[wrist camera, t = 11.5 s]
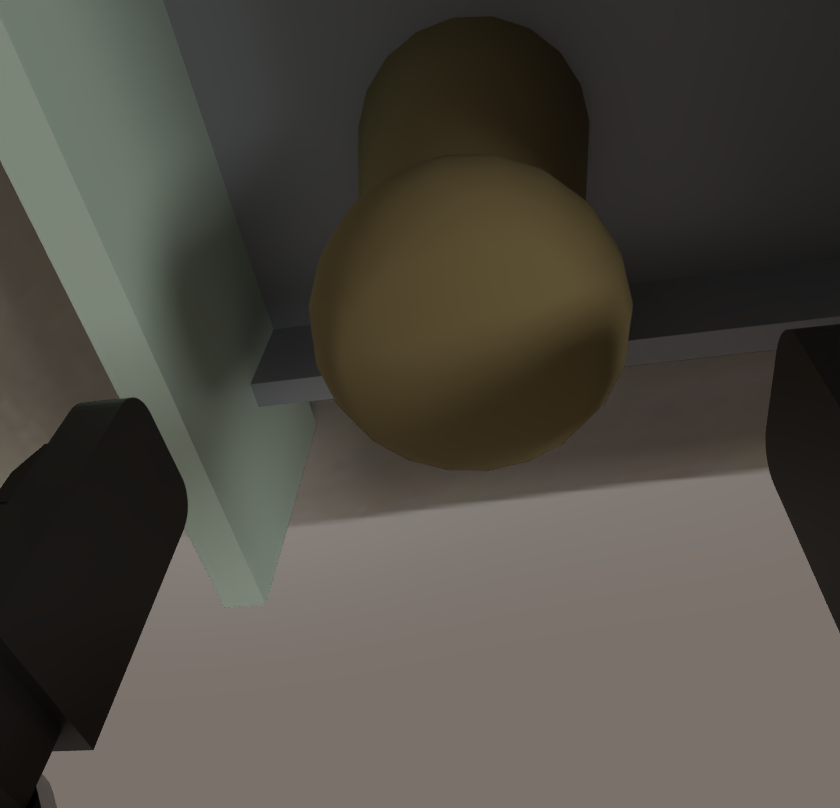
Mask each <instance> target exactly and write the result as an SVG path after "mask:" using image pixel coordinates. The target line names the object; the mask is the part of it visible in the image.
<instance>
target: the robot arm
mask: <svg viewBox="0 0 840 808" xmlns="http://www.w3.org/2000/svg"><path fill="white" fill-rule="evenodd" d="M766 454H767V461H768V466H769V471H770V474H771V478H772V480H773V483H774V485H775V487H776V490H777V492H778V494H779V497H780V499H781V501H782V503H783V505H784V508H785V510H786V512H787V514H788V517H789V519H790V521H791V524H792V526H793V528H794V531H795V533H796V535H797V537H798V540H799V542H800V544H801V546H802V548H803V551H804V553H805V555H806V558H807V560H808V562H809V564H810V566H811V569H812V571H813V573H814V576H815V578H816V580H817V582H818V585H819V587H820V589H821V591H822V594H823V596H824V598H825V601H826V603H827V605H828V607H829V610H830V612H831V614H832V616H833V618H834V620H835V623H836V625H837V627H838V630H839V632H840V324H834V325H825V326H815V327H806V328H796V329H787V330H785V331H783V333H782V334H781V336H780V338H779V341H778V346H777V352H776V360H775V367H774V374H773V382H772V389H771V396H770V404H769V411H768V419H767V426H766ZM187 514H188V498H187V491H186V487H185V483H184V481H183V478H182V476H181V474H180V472H179V470H178V468H177V466H176V464H175V462H174V460H173V458H172V456H171V454H170V452H169V450H168V448H167V446H166V444H165V442H164V440H163V437H162V435H161V433H160V431H159V429H158V427H157V425H156V423H155V421H154V419H153V417H152V415H151V413H150V411H149V409H148V408H147V406H146V405H145V404H144V403H143V402H142V401H141V400H140V399H138V398H135V397H132V398H122V399H113V400H103V401H94V402H85V403H79V404H77V405H76V406H74V407H73V408H72V409H71V411H70V412H69V413H68V415H67V416H66V418H65V419H64V421H63V422H62V424H61V425H60V427H59V428H58V430H57V431H56V433H55V434H54V436H53V437H52V438H51V440H50V441H49V443H48V444H44V445H43V446H42V447H41V448H40V449H39V450H37V451H36V452H35V453H34V454H33V455H31V456H30V457H29V458H28V459H27V460H26V461H24V462H23V463H22V464H21V465H20V466H19V467H17V468H16V469H15V470H14V471H13V472H12V473H11V474H10V475H9V477H8V478H7V480H6V481H5V483H4V484H3V485H2V487H1V488H0V808H57V806H56V803H55V798H54V794H53V791H52V788H51V785H50V783H49V782H48V780H47V779H46V778H45V776H44V775H43V774H42V772H43V770H44V768H45V765H46V763H47V761H48V759H49V757H50V755H51V752H52V751H72V750H73V751H76V750H94V747H95V745H96V742H97V740H98V737H99V735H100V732H101V730H102V728H103V725H104V722H105V720H106V718H107V715H108V713H109V710H110V708H111V706H112V703H113V701H114V698H115V696H116V694H117V691H118V688H119V686H120V684H121V681H122V679H123V676H124V674H125V672H126V669H127V666H128V664H129V662H130V659H131V657H132V654H133V652H134V650H135V647H136V645H137V642H138V640H139V637H140V635H141V632H142V630H143V628H144V625H145V622H146V620H147V618H148V615H149V613H150V610H151V608H152V605H153V603H154V600H155V598H156V596H157V593H158V591H159V588H160V586H161V583H162V581H163V579H164V576H165V574H166V571H167V569H168V566H169V564H170V561H171V559H172V556H173V554H174V552H175V549H176V547H177V544H178V542H179V540H180V537H181V535H182V532H183V530H184V527H185V524H186V520H187Z"/></svg>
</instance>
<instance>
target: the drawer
mask: <svg viewBox="0 0 840 808" xmlns="http://www.w3.org/2000/svg"><path fill="white" fill-rule="evenodd" d="M485 16H493V17H496V18H499V19H502V20H505V21H509V22H512V23H515V24H518V25H521V26H524V27H527V28H530V29H531V30H532V31H534V32H535V33H536V34H538V35H539V36H540V37H541V38H543V39H544V40H545V41H547V42H548V43H549V44H550V45H552V46H553V47H554V48H555V49H557V50H558V51H559V52H561V54H562V56H563V57H564V59H565V60H566V62H567V64H568V65H569V67H570V68H571V70H572V71H573V73H574V75H575V76H576V78H577V79H578V81H579V83H580V84H581V87H582V91H583V96H584V100H585V104H586V108H587V113H588V117H589V121H590V124H589V145H588V167H587V188H586V201H587V202H589V203H590V205H591V206H592V208H593V209H594V211H595V212H596V214H597V215H598V217H599V218H600V220H601V221H602V223H603V224H604V225H605V227H606V228H607V230H608V231H609V233H610V234H611V236H612V237H613V239H614V240H615V242H616V243H617V246H618V249H619V251H620V254H621V256H622V259H623V263H624V267H625V272H626V276H627V280H628V284H629V289H630V293H631V297H632V302H633V309H632V316H631V323H630V331H629V338H628V345H627V351H626V358H625V364H624V367H626V366H635V365H644V364H653V363H662V362H671V361H680V360H690V359H699V358H708V357H717V356H726V355H735V354H744V353H753V352H762V351H771V350H777V346H778V341H779V338H780V336H781V334H782V333H783V331H785V330H787V329H796V328H806V327H815V326H825V325H834V324H840V0H0V161H1V163H2V165H3V167H4V169H5V171H6V173H7V175H8V177H9V179H10V181H11V183H12V185H13V187H14V189H15V191H16V193H17V195H18V197H19V199H20V201H21V203H22V205H23V207H24V209H25V211H26V213H27V215H28V217H29V219H30V221H31V223H32V225H33V227H34V229H35V231H36V233H37V235H38V237H39V239H40V241H41V243H42V245H43V247H44V249H45V251H46V253H47V255H48V257H49V259H50V261H51V263H52V265H53V267H54V269H55V271H56V273H57V275H58V277H59V279H60V281H61V283H62V285H63V287H64V289H65V291H66V293H67V295H68V297H69V299H70V301H71V303H72V305H73V307H74V309H75V311H76V313H77V315H78V317H79V319H80V321H81V323H82V325H83V327H84V329H85V331H86V333H87V335H88V337H89V339H90V341H91V343H92V345H93V347H94V349H95V351H96V353H97V355H98V357H99V359H100V361H101V363H102V365H103V367H104V369H105V371H106V373H107V375H108V377H109V379H110V381H111V383H112V385H113V387H114V389H115V391H116V393H117V395H118V397H119V399H122V398H132V397H135V398H138V399H140V400H141V401H142V402H143V403H144V404H145V405H146V406H147V408H148V409H149V411H150V413H151V415H152V417H153V419H154V421H155V423H156V425H157V427H158V429H159V431H160V433H161V435H162V437H163V440H164V442H165V444H166V446H167V448H168V450H169V452H170V454H171V456H172V458H173V460H174V462H175V464H176V466H177V468H178V470H179V472H180V474H181V476H182V478H183V481H184V483H185V487H186V491H187V498H188V514H187V520H186V524H185V527H184V528H185V530H186V532H187V534H188V536H189V538H190V540H191V542H192V544H193V546H194V548H195V550H196V552H197V554H198V556H199V558H200V560H201V562H202V564H203V566H204V568H205V570H206V572H207V574H208V576H209V578H210V580H211V582H212V584H213V586H214V588H215V590H216V592H217V594H218V596H219V598H220V600H221V602H222V604H223V606H224V608H229V607H244V606H257V605H258V606H259V605H266V602H267V599H268V595H269V592H270V588H271V585H272V581H273V577H274V574H275V571H276V567H277V564H278V560H279V556H280V552H281V549H282V546H283V542H284V538H285V535H286V532H287V528H288V525H289V521H290V517H291V514H292V510H293V507H294V503H295V500H296V496H297V493H298V489H299V486H300V482H301V478H302V475H303V471H304V468H305V464H306V461H307V457H308V454H309V450H310V447H311V443H312V439H313V436H314V432H315V429H316V422H315V419H314V416H313V413H312V410H311V407H310V404H309V401H318V400H327V399H334V398H333V396H332V394H331V392H330V391H329V389H328V387H327V385H326V383H325V381H324V379H323V377H322V375H321V374H320V372H319V370H318V368H317V366H316V359H315V352H314V345H313V338H312V331H311V324H310V315H309V302H310V297H311V292H312V288H313V283H314V279H315V274H316V269H317V265H318V261H319V259H320V257H321V254H322V252H323V250H324V247H325V245H326V244H327V242H328V241H329V239H330V238H331V236H332V234H333V233H334V231H335V230H336V228H337V227H338V225H339V224H340V222H341V220H342V219H343V217H344V216H345V214H346V213H347V211H348V210H349V208H350V207H351V206H352V205H353V204H354V203H356V202H357V201H358V127H359V122H360V118H361V113H362V109H363V104H364V100H365V96H366V91H367V89H368V88H369V86H370V84H371V83H372V81H373V79H374V77H375V76H376V74H377V72H378V71H379V69H380V67H381V66H382V64H383V62H384V61H385V59H386V58H387V57H388V56H389V55H390V54H391V53H392V52H394V51H395V50H396V49H397V48H398V47H399V46H401V45H402V44H403V43H404V42H405V41H406V40H408V39H409V38H410V37H411V36H412V35H413V34H415V33H416V32H418V31H420V30H423V29H425V28H428V27H430V26H433V25H435V24H438V23H441V22H443V21H446V20H448V19H451V18H456V17H485Z"/></svg>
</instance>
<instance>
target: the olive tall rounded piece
mask: <svg viewBox="0 0 840 808" xmlns="http://www.w3.org/2000/svg"><path fill="white" fill-rule="evenodd" d="M589 124H590V121H589V117H588V113H587V108H586V104H585V100H584V96H583V91H582V87H581V84H580V83H579V81H578V79H577V78H576V76H575V75H574V73H573V71H572V70H571V68H570V67H569V65H568V64H567V62H566V60H565V59H564V57H563V56H562V54H561V52H559V51H558V50H557V49H555V48H554V47H553V46H552V45H550V44H549V43H548V42H547V41H545V40H544V39H543V38H541V37H540V36H539V35H538V34H536V33H535V32H534V31H532V30H531V29H530V28H527V27H524V26H521V25H518V24H515V23H512V22H509V21H505V20H502V19H499V18H496V17H493V16H485V17H456V18H451V19H448V20H446V21H443V22H441V23H438V24H435V25H433V26H430V27H428V28H425V29H423V30H420V31H418V32H416V33H415V34H413V35H412V36H411V37H410V38H409V39H408V40H406V41H405V42H404V43H403V44H402V45H401V46H399V47H398V48H397V49H396V50H395V51H394V52H392V53H391V54H390V55H389V56H388V57H387V58H386V59H385V61H384V62H383V64H382V66H381V67H380V69H379V71H378V72H377V74H376V76H375V77H374V79H373V81H372V83H371V84H370V86H369V88H368V89H367V91H366V96H365V100H364V104H363V109H362V113H361V118H360V122H359V127H358V201H357V202H356V203H354V204H353V205H352V206H351V207H350V208H349V210H348V211H347V213H346V214H345V216H344V217H343V219H342V220H341V222H340V224H339V225H338V227H337V228H336V230H335V231H334V233H333V234H332V236H331V238H330V239H329V241H328V242H327V244H326V245H325V247H324V250H323V252H322V254H321V257H320V259H319V261H318V265H317V269H316V274H315V279H314V283H313V288H312V292H311V297H310V302H309V315H310V324H311V331H312V338H313V345H314V352H315V359H316V366H317V368H318V370H319V372H320V374H321V375H322V377H323V379H324V381H325V383H326V385H327V387H328V389H329V391H330V392H331V394H332V396H333V398H334V400H335V402H336V403H337V405H338V406H339V407H340V408H341V409H342V410H343V411H344V412H345V413H346V414H347V415H348V416H349V417H350V418H351V419H352V420H353V421H354V422H355V423H356V424H357V425H358V426H359V427H360V428H361V429H362V430H363V431H364V432H365V433H366V434H367V435H368V436H369V437H370V438H371V439H372V440H373V441H375V442H376V443H378V444H380V445H382V446H384V447H386V448H387V449H389V450H391V451H393V452H395V453H397V454H398V455H400V456H402V457H404V458H406V459H408V460H411V461H414V462H418V463H422V464H426V465H430V466H434V467H438V468H442V469H446V470H492V469H497V468H501V467H505V466H510V465H514V464H518V463H522V462H527V461H530V460H531V459H533V458H535V457H537V456H539V455H541V454H543V453H545V452H547V451H549V450H551V449H552V448H554V447H556V446H558V445H560V444H562V443H564V442H565V441H566V440H567V439H568V438H569V437H570V436H571V435H572V434H573V433H574V432H575V431H576V430H578V429H579V428H580V427H581V426H582V425H583V424H584V423H585V422H586V421H587V420H588V419H589V418H590V417H591V416H592V415H593V414H594V413H595V412H596V411H597V410H598V409H599V408H600V407H601V406H602V405H603V404H604V403H605V401H606V399H607V397H608V395H609V393H610V392H611V390H612V388H613V386H614V384H615V382H616V380H617V378H618V377H619V375H620V373H621V371H622V369H623V367H624V364H625V358H626V351H627V345H628V338H629V331H630V323H631V316H632V309H633V302H632V297H631V293H630V289H629V284H628V280H627V276H626V272H625V267H624V263H623V259H622V256H621V254H620V251H619V249H618V246H617V243H616V242H615V240H614V239H613V237H612V236H611V234H610V233H609V231H608V230H607V228H606V227H605V225H604V224H603V223H602V221H601V220H600V218H599V217H598V215H597V214H596V212H595V211H594V209H593V208H592V206H591V205H590V203H589V202H587V201H586V188H587V167H588V145H589Z"/></svg>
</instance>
